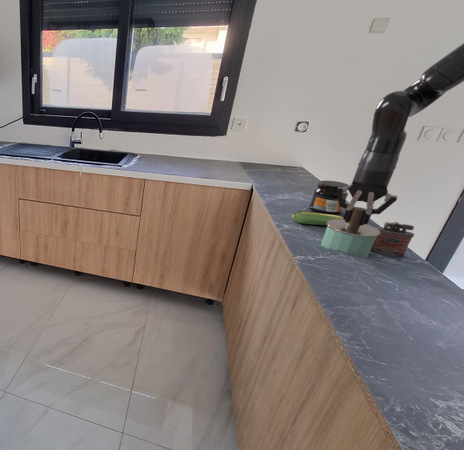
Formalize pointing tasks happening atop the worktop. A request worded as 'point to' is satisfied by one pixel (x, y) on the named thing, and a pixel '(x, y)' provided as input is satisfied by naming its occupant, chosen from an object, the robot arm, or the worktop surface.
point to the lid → (354, 225)
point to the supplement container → (327, 198)
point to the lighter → (393, 239)
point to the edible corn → (313, 218)
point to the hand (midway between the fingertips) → (354, 222)
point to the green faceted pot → (347, 243)
